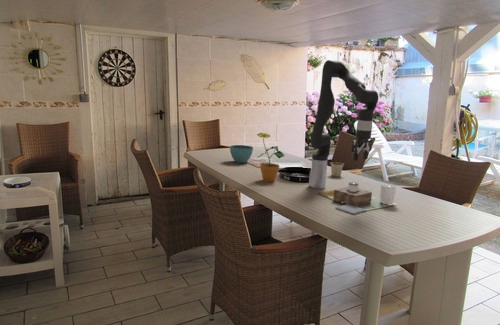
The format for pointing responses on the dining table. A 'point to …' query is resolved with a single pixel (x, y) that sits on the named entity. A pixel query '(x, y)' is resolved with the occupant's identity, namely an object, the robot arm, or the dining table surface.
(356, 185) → the shiny metal cylinder
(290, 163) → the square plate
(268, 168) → the potted plant
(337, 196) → the housing
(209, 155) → the dining table surface
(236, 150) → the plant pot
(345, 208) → the mat
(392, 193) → the white cup
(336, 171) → the flower pot
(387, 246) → the dining table surface
